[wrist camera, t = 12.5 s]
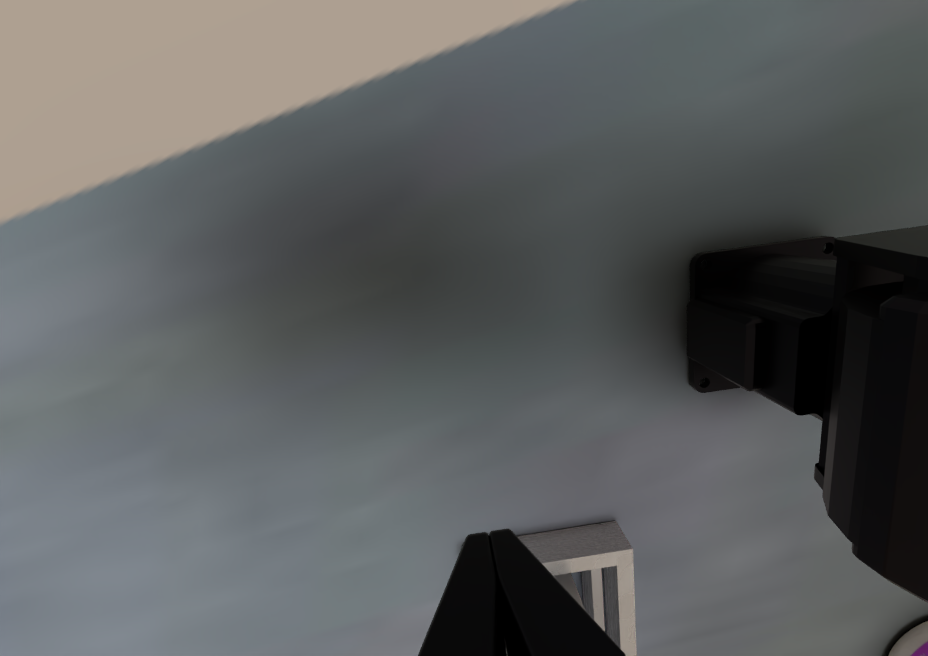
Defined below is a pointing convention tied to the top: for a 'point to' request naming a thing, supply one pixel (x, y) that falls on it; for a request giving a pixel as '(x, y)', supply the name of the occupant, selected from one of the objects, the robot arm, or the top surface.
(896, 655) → the supplement bottle
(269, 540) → the top surface
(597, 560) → the rack
